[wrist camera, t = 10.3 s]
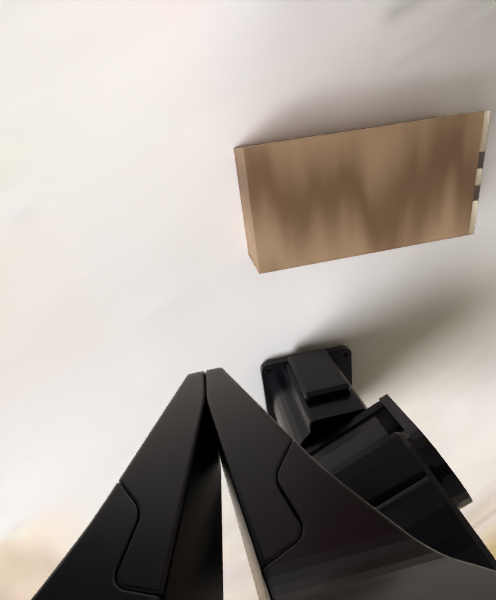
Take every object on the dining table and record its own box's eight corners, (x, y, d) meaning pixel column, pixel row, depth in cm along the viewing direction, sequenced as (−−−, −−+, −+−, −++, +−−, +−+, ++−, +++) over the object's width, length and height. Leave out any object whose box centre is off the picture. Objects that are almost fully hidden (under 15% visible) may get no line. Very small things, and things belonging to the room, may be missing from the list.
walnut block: (473, 233, 19) (259, 273, 18) (432, 221, 22) (248, 255, 21) (490, 110, 16) (243, 147, 15) (441, 116, 20) (233, 148, 19)
